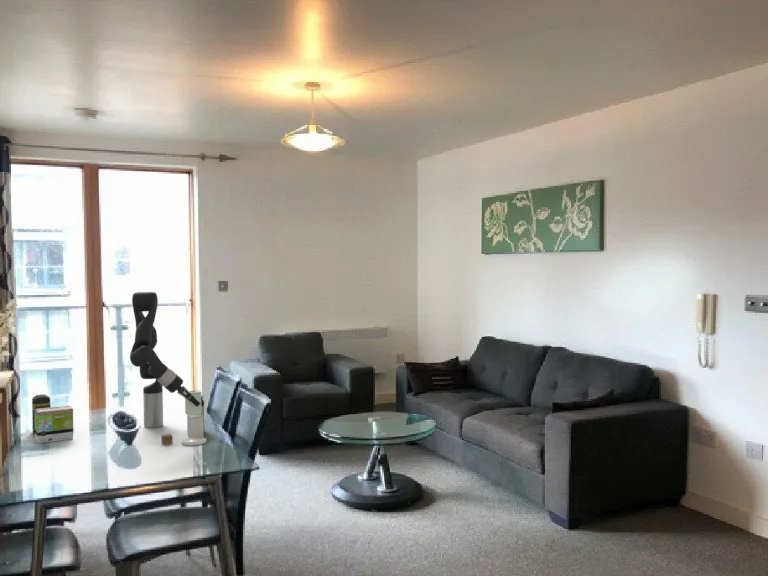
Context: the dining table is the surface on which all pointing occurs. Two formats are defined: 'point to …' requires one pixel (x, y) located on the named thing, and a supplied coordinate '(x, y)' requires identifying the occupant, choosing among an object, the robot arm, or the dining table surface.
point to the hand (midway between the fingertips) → (197, 403)
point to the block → (166, 439)
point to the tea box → (53, 424)
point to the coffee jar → (39, 405)
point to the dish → (193, 441)
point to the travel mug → (201, 414)
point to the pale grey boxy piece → (190, 407)
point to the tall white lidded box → (195, 426)
